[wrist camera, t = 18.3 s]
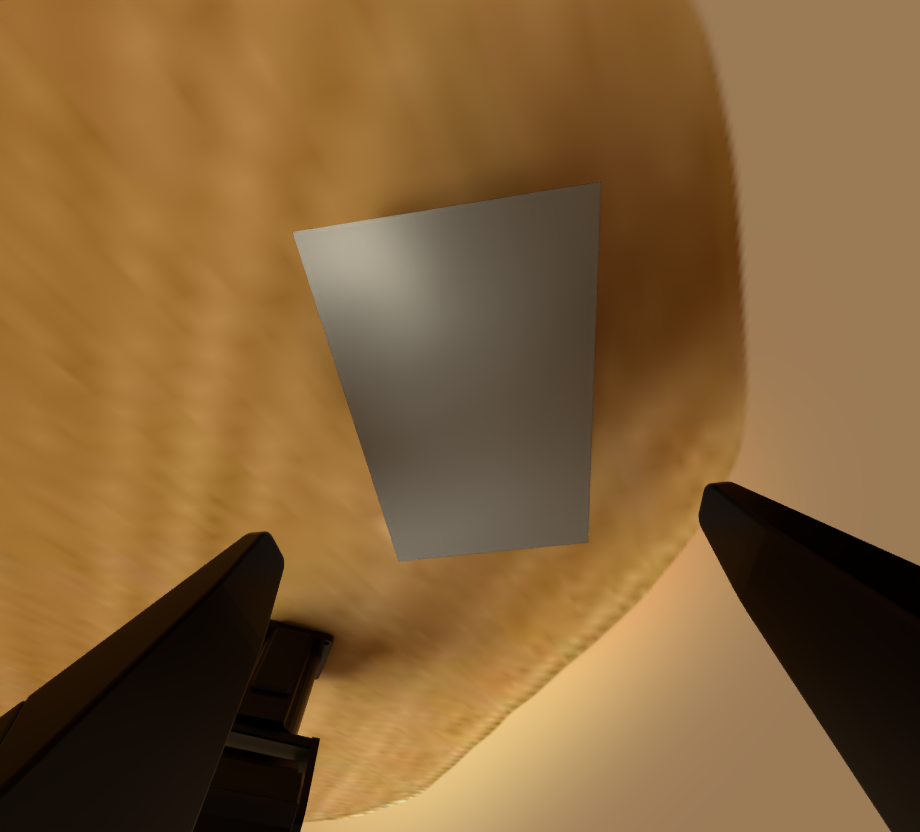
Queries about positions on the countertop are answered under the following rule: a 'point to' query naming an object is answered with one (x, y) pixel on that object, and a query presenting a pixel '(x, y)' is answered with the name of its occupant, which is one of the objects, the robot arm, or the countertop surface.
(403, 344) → the gray rectangular prism
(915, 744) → the robot arm
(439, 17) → the countertop surface
